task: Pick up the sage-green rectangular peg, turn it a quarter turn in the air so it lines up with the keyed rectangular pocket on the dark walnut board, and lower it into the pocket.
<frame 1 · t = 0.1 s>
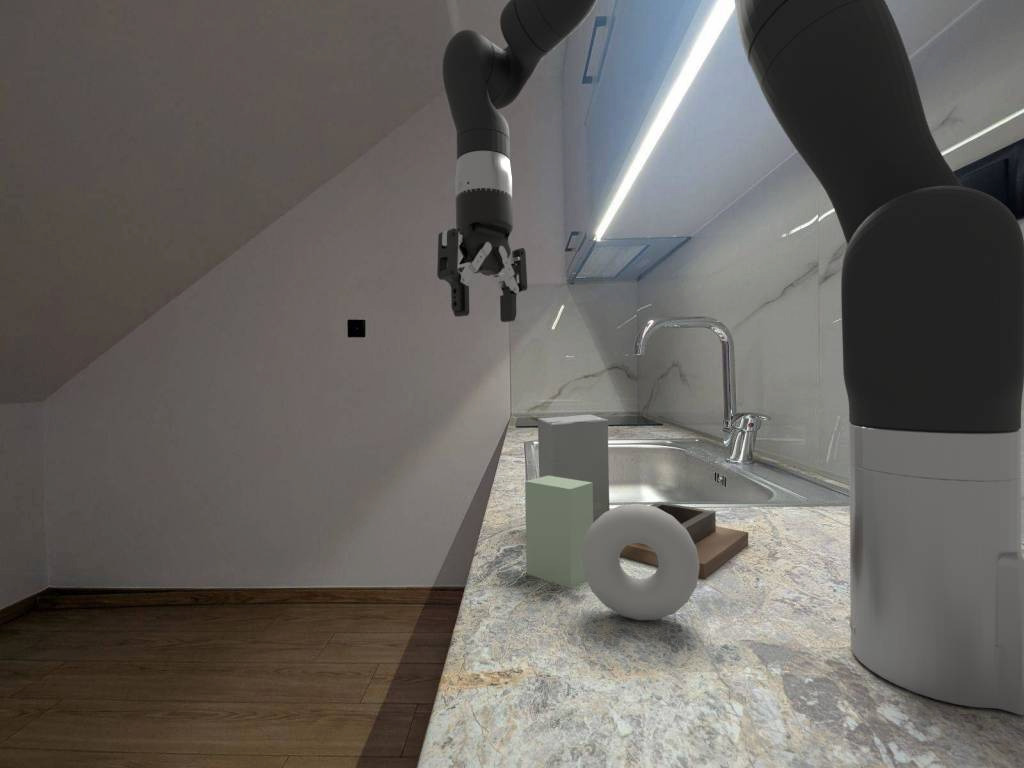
hand: (485, 319, 65), 29 cm above the countertop, tool pointing down, fingers open, 8 cm apart
keyed socket board: (670, 546, 61), on the countertop
keyed peg: (559, 574, 52), on the countertop
donut: (639, 620, 43), on the countertop
skincare box: (573, 532, 67), on the countertop
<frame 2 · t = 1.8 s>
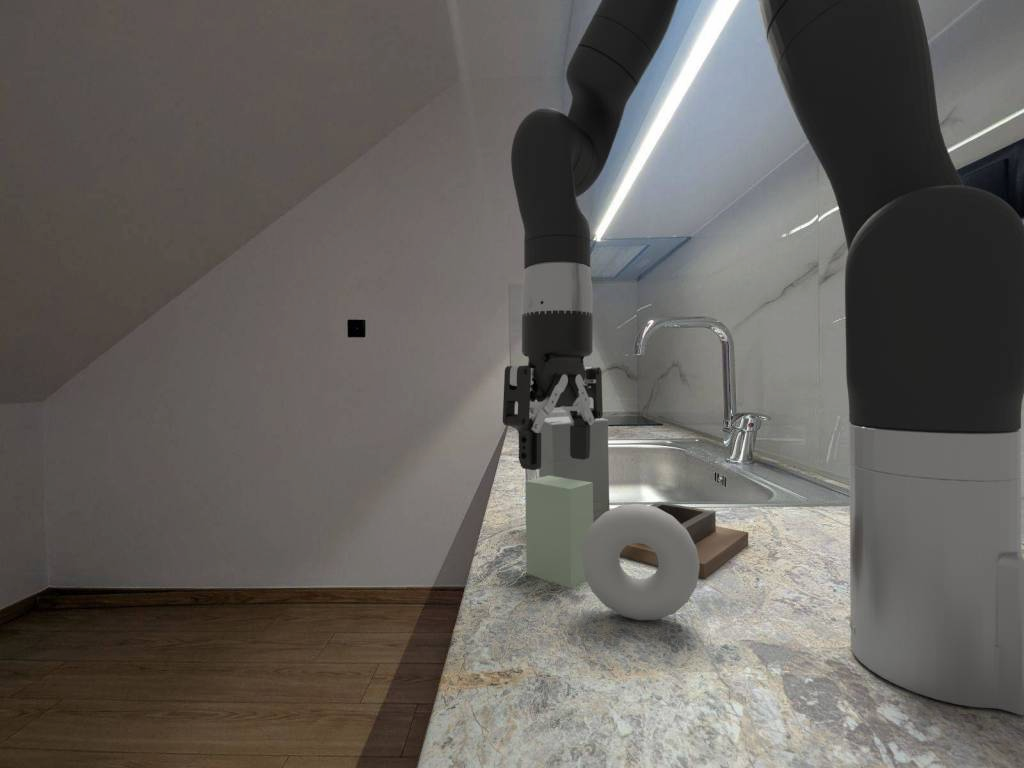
hand: (556, 463, 53), 12 cm above the countertop, tool pointing down, fingers open, 8 cm apart
nothing on the countertop moved.
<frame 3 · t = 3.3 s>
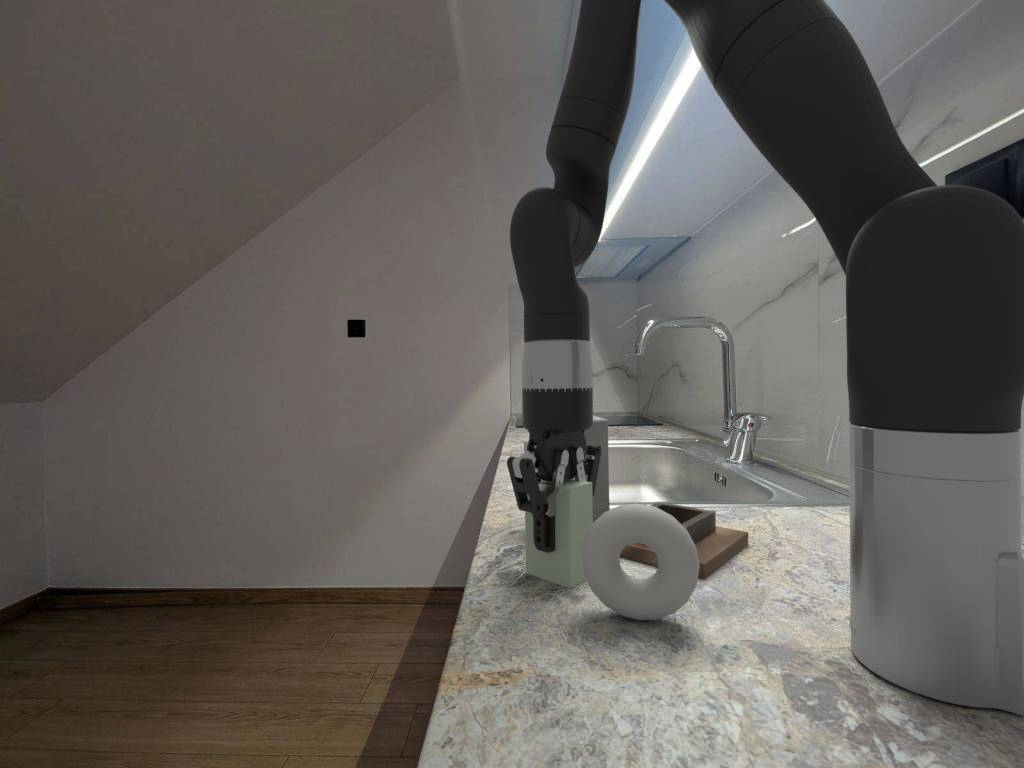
hand: (558, 544, 52), 3 cm above the countertop, tool pointing down, fingers closed on keyed peg, 4 cm apart
keyed peg: (559, 574, 52), on the countertop, touching gripper
everything else where it was.
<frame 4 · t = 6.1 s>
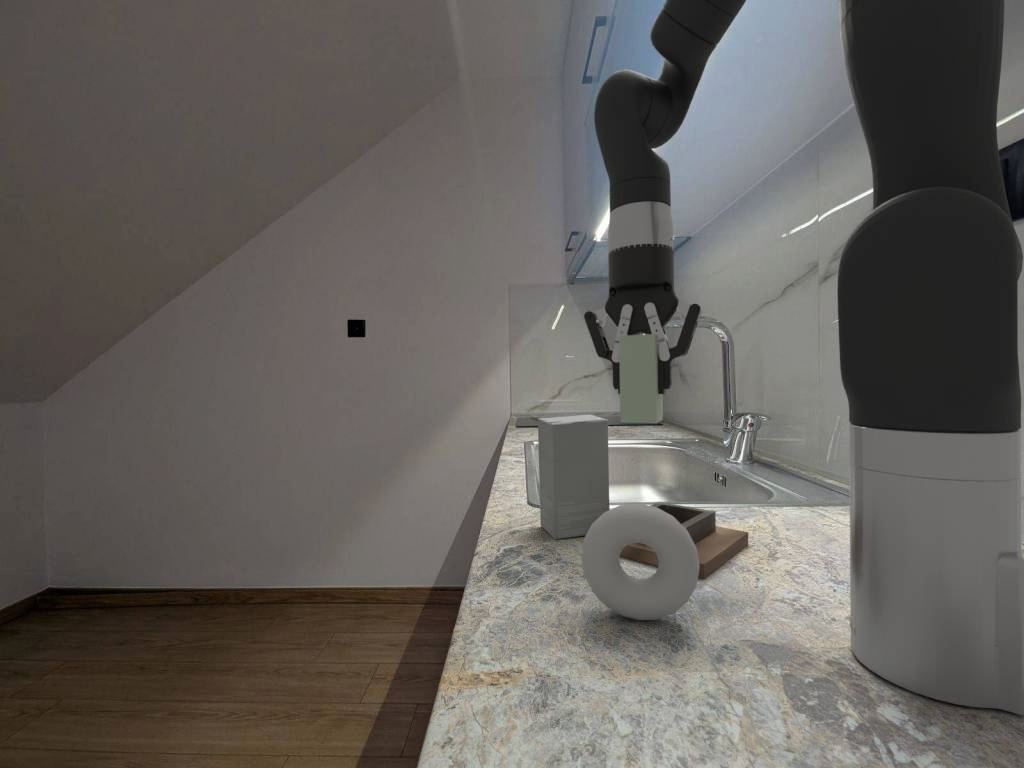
hand: (642, 393, 58), 19 cm above the countertop, tool pointing down, fingers closed on keyed peg, 4 cm apart
keyed peg: (642, 420, 58), point 16 cm above the countertop, touching gripper
everything else where it was.
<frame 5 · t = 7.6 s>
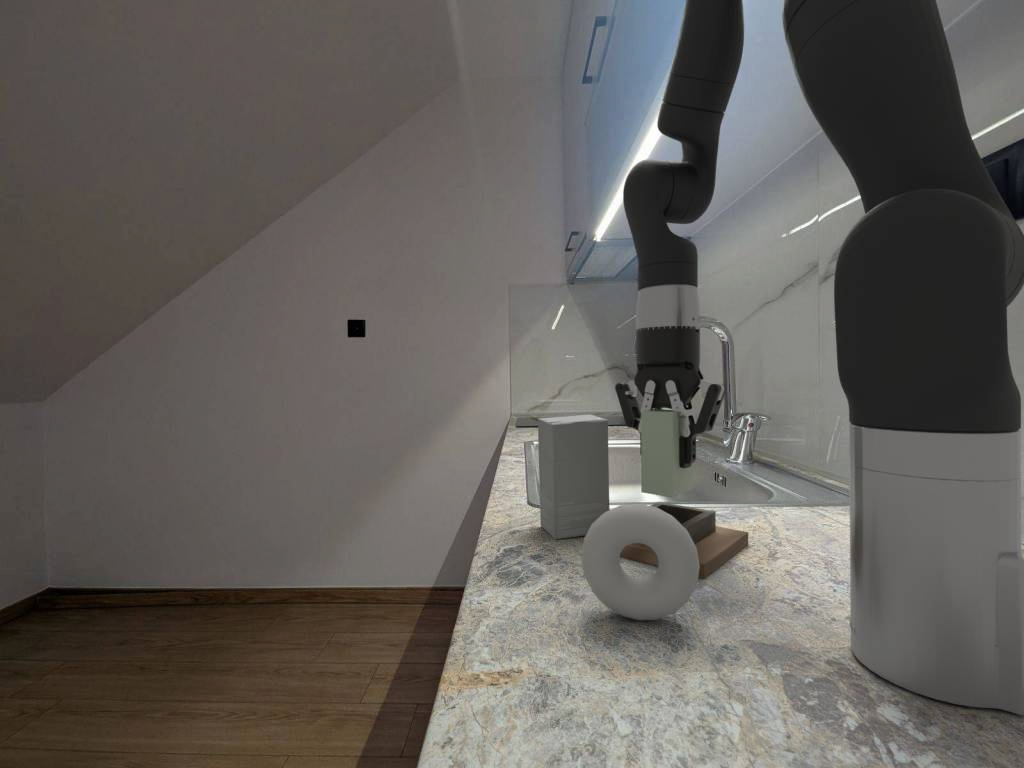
hand: (667, 464, 61), 10 cm above the countertop, tool pointing down, fingers closed on keyed peg, 4 cm apart
keyed peg: (667, 490, 61), point 7 cm above the countertop, touching gripper
everything else where it was.
when the fingers open (6 cm above the countertop, at t = 8.9 s): keyed peg stays where it is, resting on keyed socket board.
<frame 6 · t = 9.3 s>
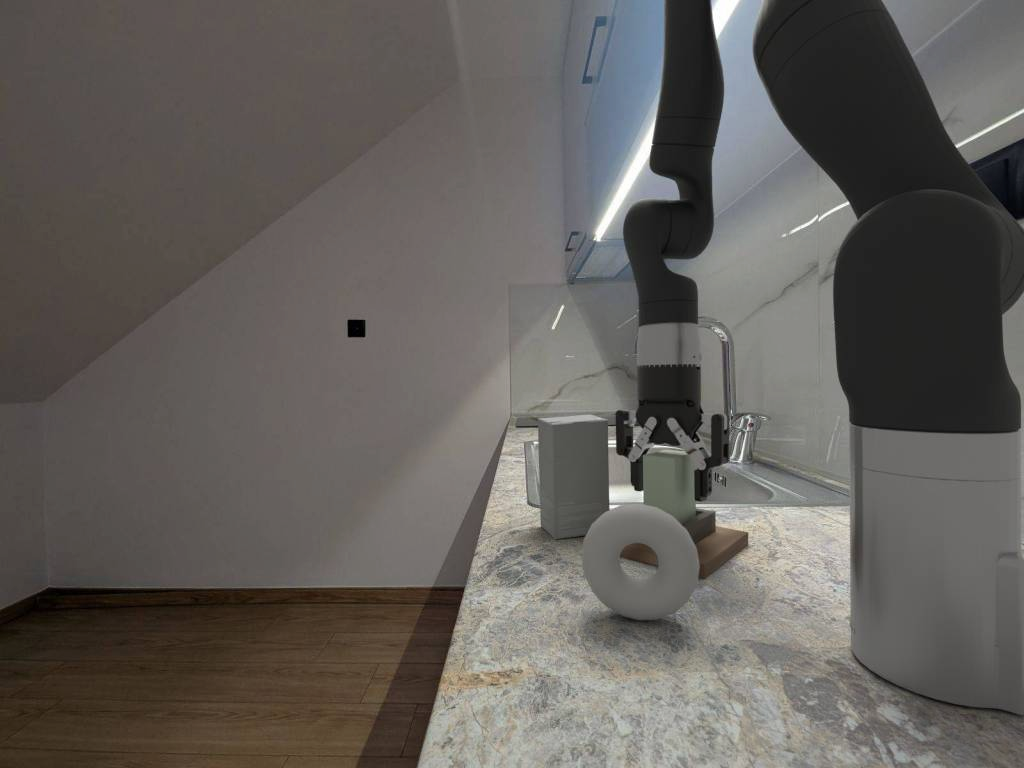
hand: (669, 494, 61), 6 cm above the countertop, tool pointing down, fingers open, 7 cm apart
keyed peg: (670, 534, 61), point 1 cm above the countertop, touching keyed socket board
everything else where it was.
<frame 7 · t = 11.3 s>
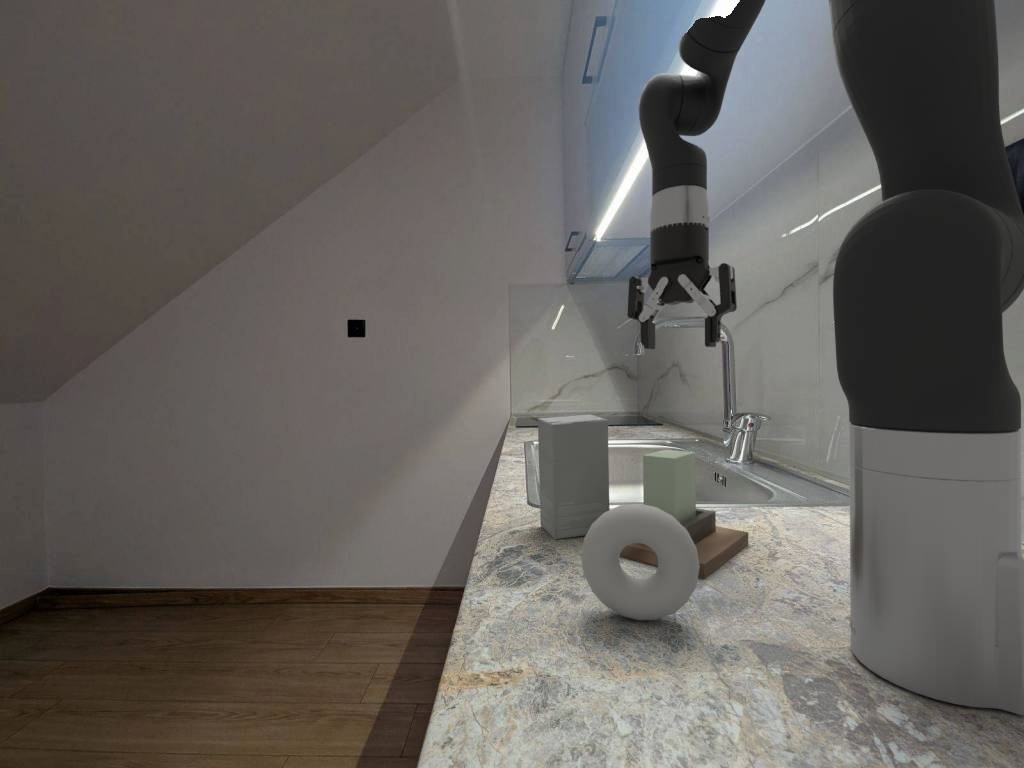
hand: (678, 348, 67), 25 cm above the countertop, tool pointing down, fingers open, 8 cm apart
nothing on the countertop moved.
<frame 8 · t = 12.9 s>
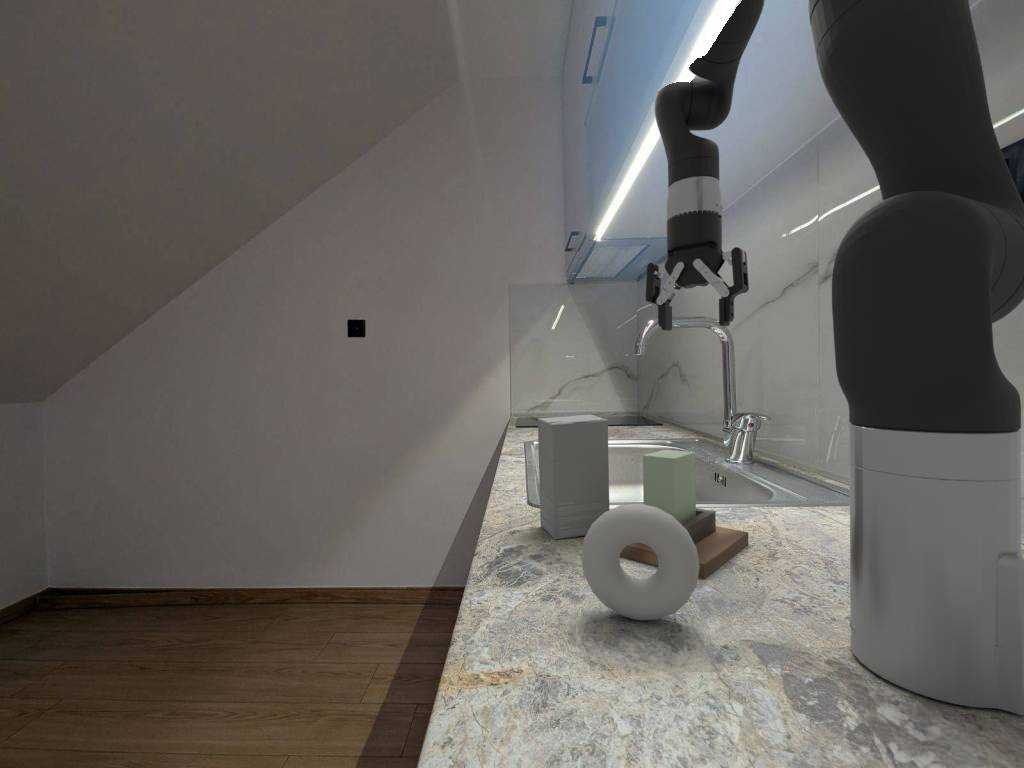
hand: (694, 328, 71), 28 cm above the countertop, tool pointing down, fingers open, 8 cm apart
nothing on the countertop moved.
at the end: keyed peg 0.0 cm from the target spot, point 1.5 cm above the countertop; keyed peg tilted 0°; the gripper is holding nothing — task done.
